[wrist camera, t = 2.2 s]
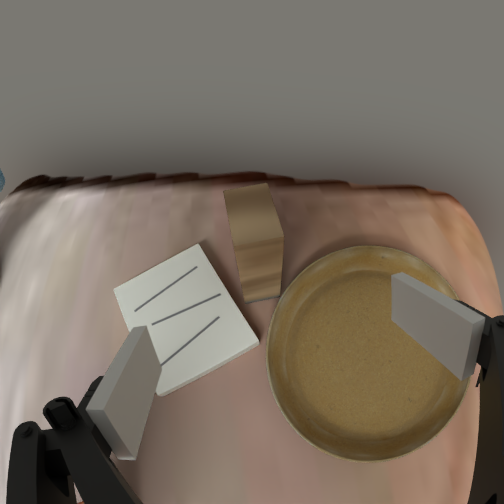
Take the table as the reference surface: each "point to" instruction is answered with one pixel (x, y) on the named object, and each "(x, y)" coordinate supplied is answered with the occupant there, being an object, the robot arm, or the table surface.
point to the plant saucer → (358, 359)
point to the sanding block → (256, 241)
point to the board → (186, 318)
